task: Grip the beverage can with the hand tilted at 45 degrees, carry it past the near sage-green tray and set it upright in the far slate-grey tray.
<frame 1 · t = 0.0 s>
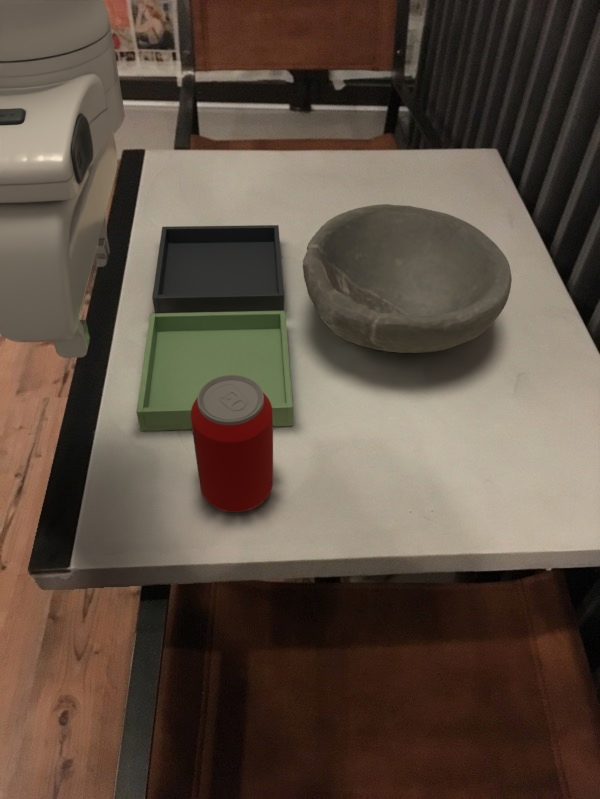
hand: (86, 302, 45), 23 cm above the table, tool pointing down, fingers open, 8 cm apart
sage tray: (218, 376, 74), on the table
bowl: (397, 325, 81), on the table
beverage can: (237, 488, 64), on the table
slate tray: (221, 277, 87), on the table
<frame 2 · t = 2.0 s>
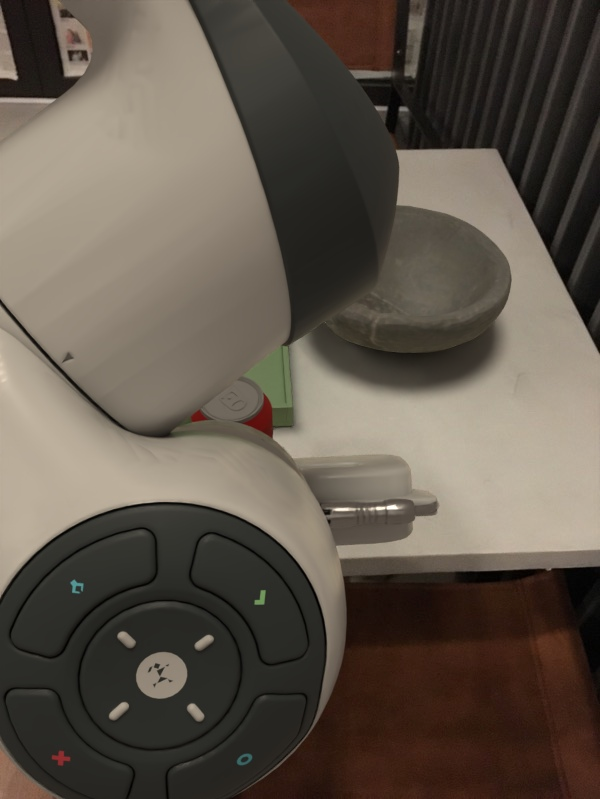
hand: (226, 481, 43), 17 cm above the table, tool tilted 45°, fingers open, 8 cm apart
nothing on the table moved.
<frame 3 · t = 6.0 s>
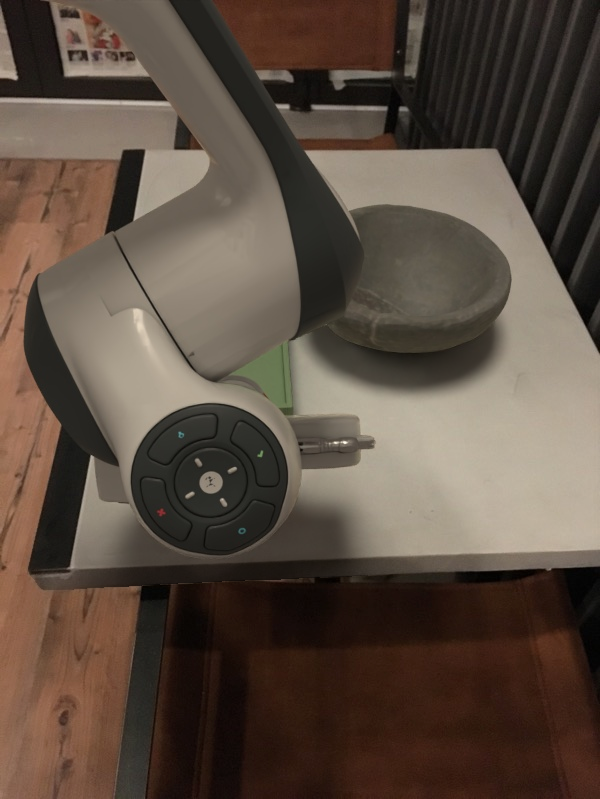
hand: (233, 435, 59), 7 cm above the table, tool tilted 45°, fingers closed on beverage can, 7 cm apart
beverage can: (237, 488, 64), on the table, touching gripper
everything else where it was.
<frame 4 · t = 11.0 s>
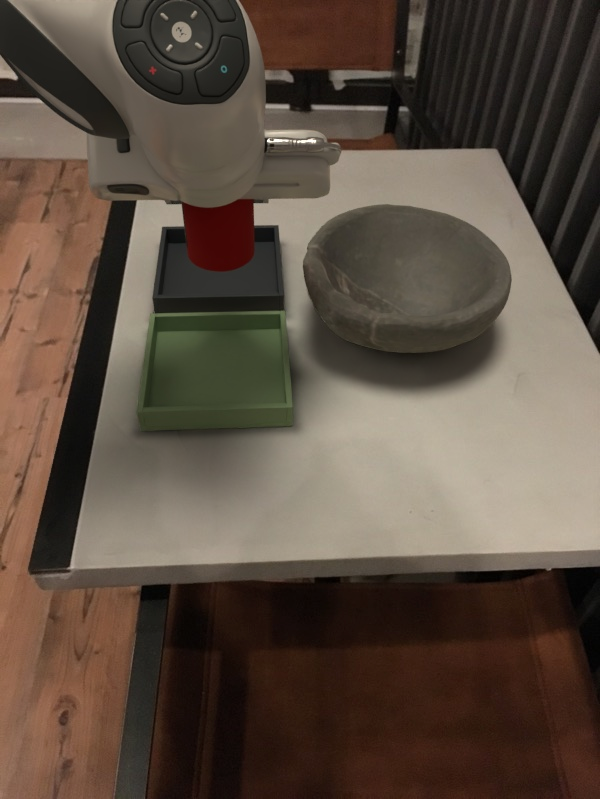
hand: (217, 195, 65), 18 cm above the table, tool tilted 45°, fingers closed on beverage can, 7 cm apart
beverage can: (221, 260, 69), point 12 cm above the table, touching gripper
everything else where it was.
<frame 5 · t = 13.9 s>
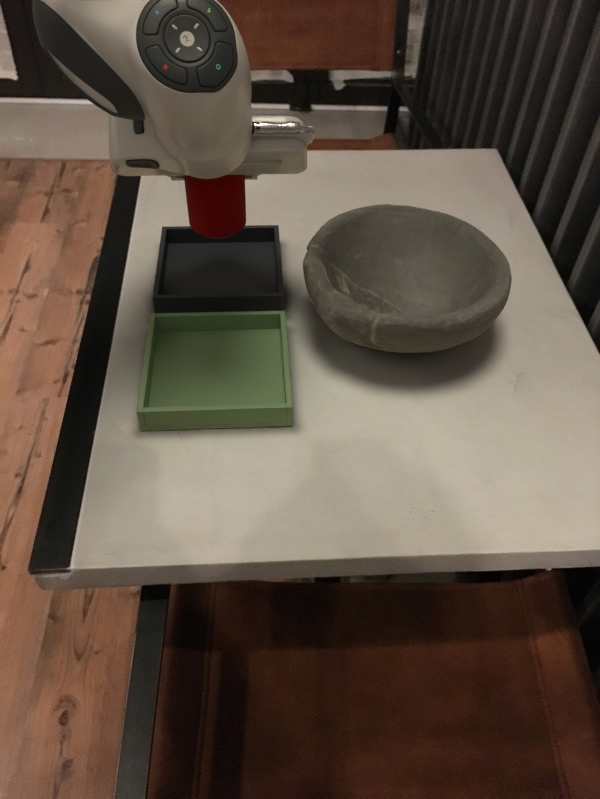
hand: (214, 173, 77), 14 cm above the table, tool tilted 45°, fingers closed on beverage can, 7 cm apart
beverage can: (218, 229, 81), point 7 cm above the table, touching gripper
everything else where it was.
when the fingers open (7 cm above the table, at t = 16.3 s): beverage can stays where it is, resting on slate tray.
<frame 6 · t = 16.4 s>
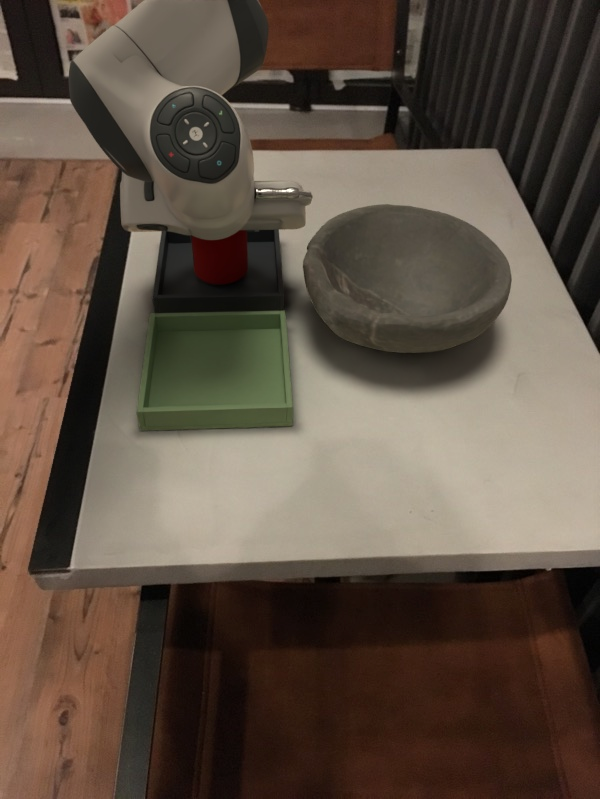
hand: (218, 225, 82), 7 cm above the table, tool tilted 45°, fingers open, 7 cm apart
beverage can: (221, 274, 86), resting on slate tray
everything else where it was.
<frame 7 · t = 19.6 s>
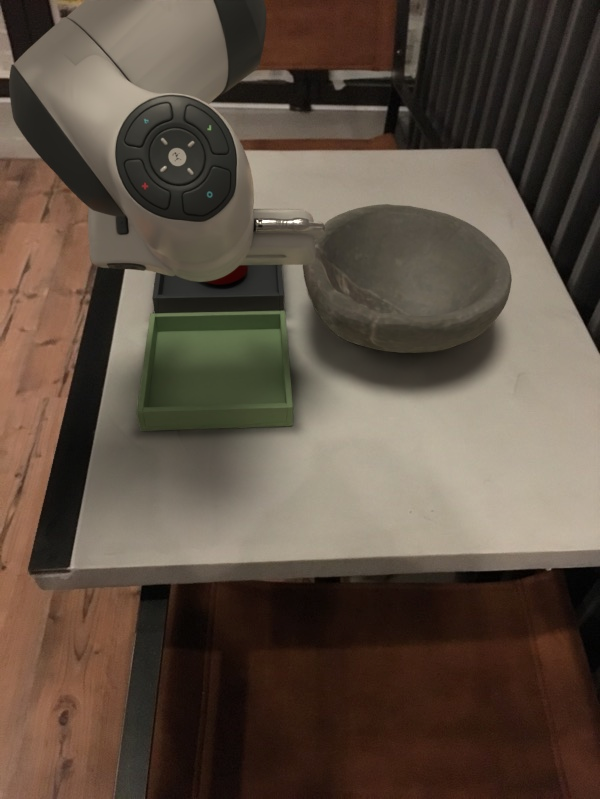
hand: (209, 257, 69), 12 cm above the table, tool tilted 45°, fingers open, 8 cm apart
nothing on the table moved.
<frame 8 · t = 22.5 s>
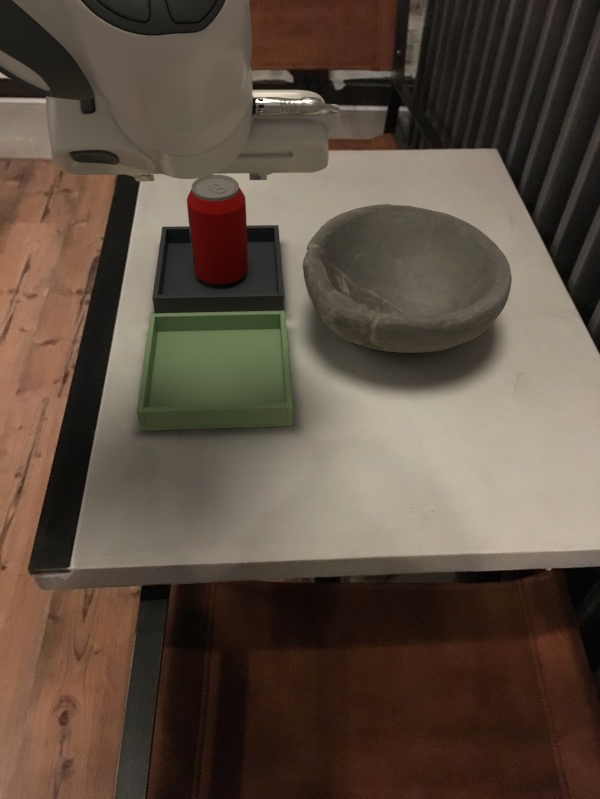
hand: (201, 171, 58), 23 cm above the table, tool tilted 45°, fingers open, 8 cm apart
nothing on the table moved.
at the end: beverage can inside the target area in the slate tray (0.1 cm from its centre), point 0.4 cm above the slate tray's base; beverage can tilted 0°; beverage can touching slate tray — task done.
